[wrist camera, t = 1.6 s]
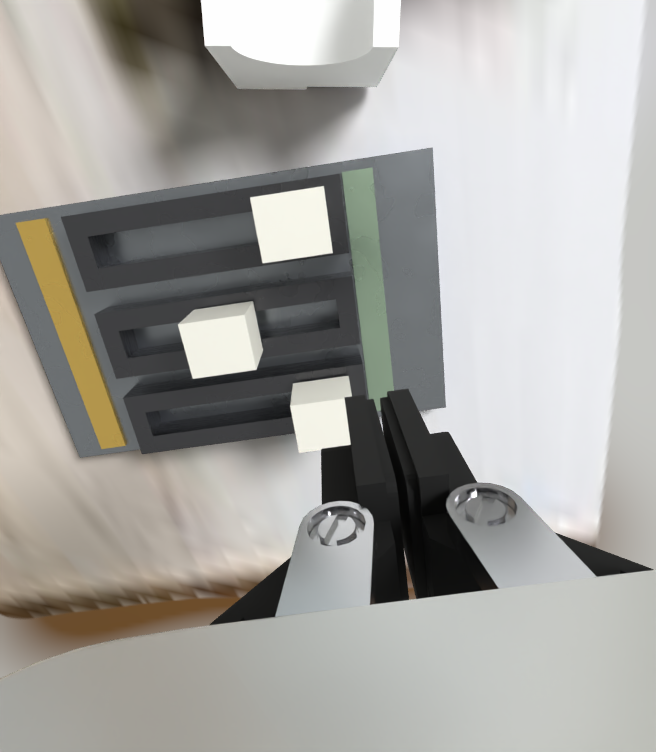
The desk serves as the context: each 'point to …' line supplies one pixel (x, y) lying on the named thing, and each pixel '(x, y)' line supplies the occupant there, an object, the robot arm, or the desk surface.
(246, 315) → the handle
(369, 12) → the bracket
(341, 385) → the breaker handle
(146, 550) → the desk surface
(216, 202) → the breaker panel
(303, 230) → the block
